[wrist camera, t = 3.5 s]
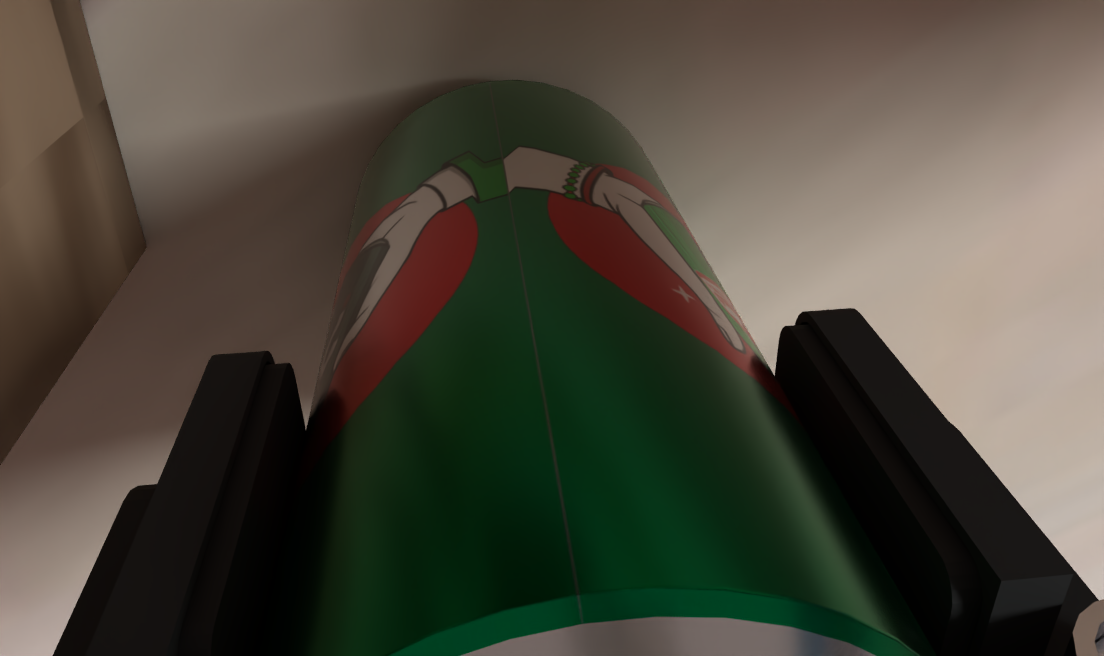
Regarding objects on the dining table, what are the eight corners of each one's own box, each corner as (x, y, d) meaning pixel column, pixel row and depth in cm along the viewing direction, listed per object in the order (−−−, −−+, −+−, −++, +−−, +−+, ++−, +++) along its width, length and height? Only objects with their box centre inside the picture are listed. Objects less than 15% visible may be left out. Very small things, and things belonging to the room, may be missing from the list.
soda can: (389, 365, 17) (298, 1288, 6) (325, 92, 14) (1, 891, 4) (661, 326, 17) (1009, 1162, 6) (648, 50, 14) (1190, 699, 4)
